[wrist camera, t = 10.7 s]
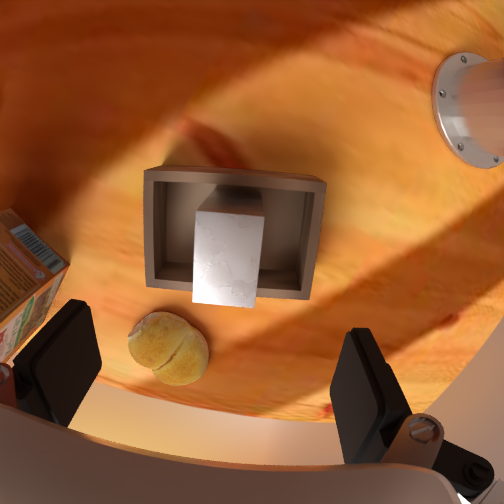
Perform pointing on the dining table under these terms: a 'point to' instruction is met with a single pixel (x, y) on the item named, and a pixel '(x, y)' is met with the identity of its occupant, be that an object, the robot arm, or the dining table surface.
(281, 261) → the open box
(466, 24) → the dining table surface
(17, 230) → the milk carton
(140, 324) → the bread roll
